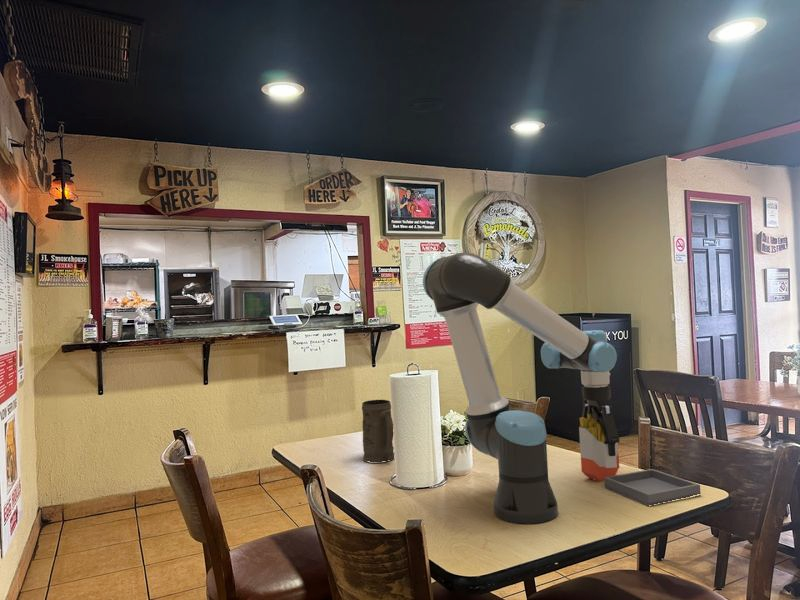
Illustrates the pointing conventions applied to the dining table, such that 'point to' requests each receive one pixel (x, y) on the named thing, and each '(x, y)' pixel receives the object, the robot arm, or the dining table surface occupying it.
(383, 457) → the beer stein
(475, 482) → the dining table surface
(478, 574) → the dining table surface
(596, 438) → the french fries container
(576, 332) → the robot arm
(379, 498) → the dining table surface
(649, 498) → the serving tray
